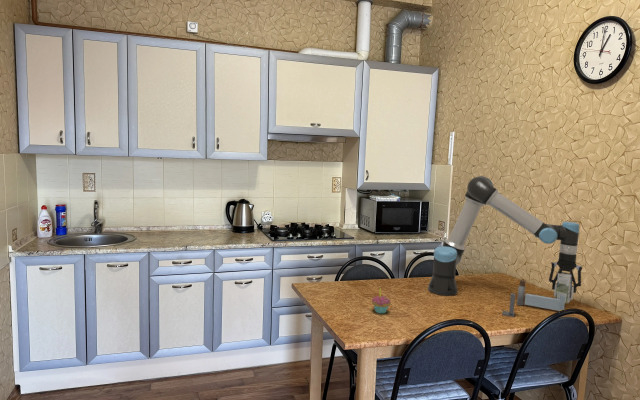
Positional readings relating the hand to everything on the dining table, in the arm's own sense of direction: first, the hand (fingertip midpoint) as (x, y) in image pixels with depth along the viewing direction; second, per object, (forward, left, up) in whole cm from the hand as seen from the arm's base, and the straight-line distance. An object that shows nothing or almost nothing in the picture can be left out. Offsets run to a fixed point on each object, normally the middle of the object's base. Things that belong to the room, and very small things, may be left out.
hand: (563, 297), depth 217 cm
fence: (-19, -4, -4) cm, 20 cm away
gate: (-10, -13, -4) cm, 17 cm away
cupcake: (-75, -63, -4) cm, 98 cm away
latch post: (-23, -32, -4) cm, 39 cm away
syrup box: (0, 0, -2) cm, 2 cm away
